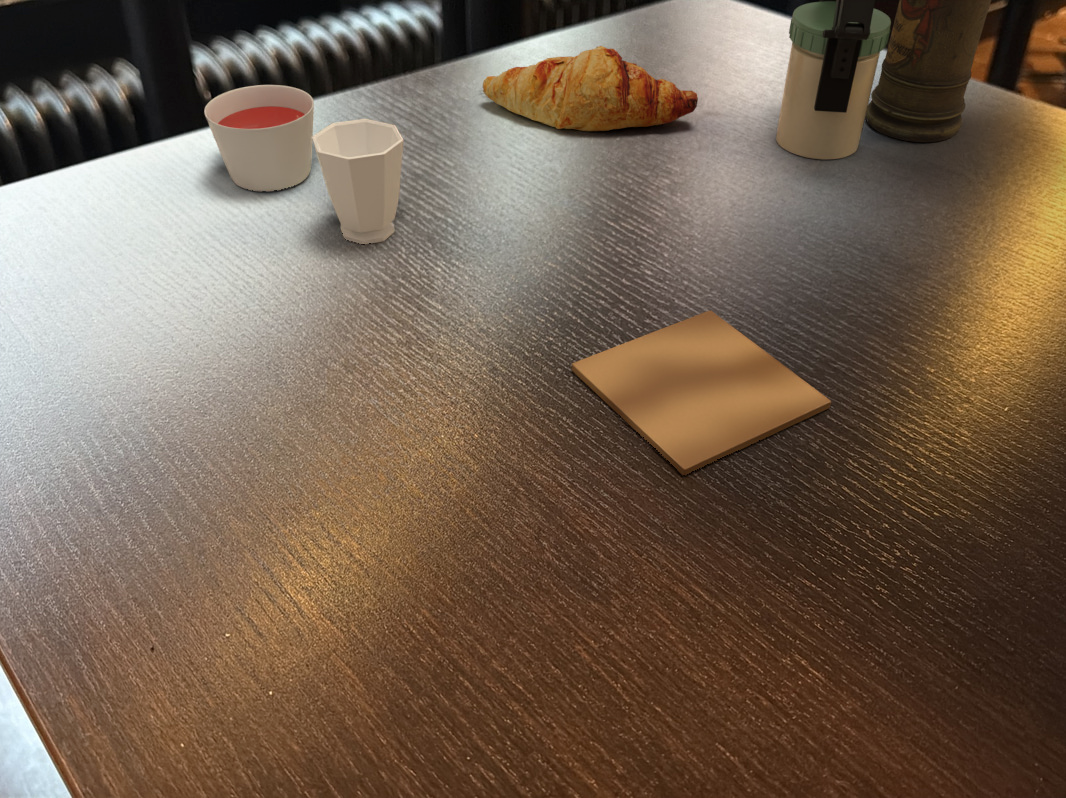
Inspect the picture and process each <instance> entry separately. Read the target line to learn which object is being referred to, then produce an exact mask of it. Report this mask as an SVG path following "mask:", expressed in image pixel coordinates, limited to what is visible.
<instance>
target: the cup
mask: <svg viewBox="0 0 1066 798" xmlns="http://www.w3.org/2000/svg"><path fill="white" fill-rule="evenodd" d="M312 144H313V147H314V150H315V153H316V156H317V159H318V163H319V166H320V170H321V173H322V176H323V181H324V183H325V187H326V190H327V193H328V197H329V198H330V201H331V204H332V206H333V209H334V211H335V213H336V216H337V219H338V221H339V223H340V226H339V227H340V231H341V234H342V233H343V234H342V237H343V239H344V238H345V239H346V240H345V239H344V240H345V241H347V240H349V241H348V242H351V241H353V242H352V243H354V242H357V243H356V244H358V243H359V244H358V245H361V244H365V245H370V244H369V243H371V244H375V243H376V244H377V243H381V242H382V243H383V242H385V241H386V240H387V239H388V238H389V237H391V236H392V235H393V234H394V233H395V232H396V230H395V225H394V223H393V221H394V220H395V219H396V214H397V211H398V210H397V209H398V205H399V200H400V191H401V179H402V177H401V175H402V166H403V165H402V164H403V152H404V138H403V136H402V135H401V132H400V131H399V129H398V127H397V126H396V124H391V123H387V122H382V121H377V120H374V119H369V118H360V119H353V120H345V121H338V122H332V123H330V124H329V125H327V126H326V127H324V128H322V129H321V130H320V131H318V132H317V133H314V134H313V136H312Z"/></svg>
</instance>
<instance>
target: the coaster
mask: <svg viewBox="0 0 1066 798" xmlns="http://www.w3.org/2000/svg"><path fill="white" fill-rule="evenodd" d="M570 369H571V371H572V373H574V374H575V375H576V376H577V377H578V378H579V379H580V380H581V381H582V382H583V383H584V384H585V385H586V386H588V387H589V389H590V390H592V391H593V392H594V393H595V395H597V396H598V398H600V399H601V400H602V401H603V402H605V404H606V405H608V407H610V408H611V409H612V410H613V411H614V412H615V414H617V415H618V416H619V415H620V416H621V417H620V416H619V417H620V418H621V419H622V420H623V421H625V423H626V424H628V425H629V426H630V428H632V429H633V430H634V431H635V430H636V431H635V432H636V433H637V432H638V433H639V434H640V435H639V434H638V433H637V434H638V435H639V436H640V437H642V438H643V437H644V438H643V440H645V441H646V440H647V441H646V442H647V443H648V442H649V443H648V445H650V444H651V445H652V446H653V447H654V448H656V450H658V452H660V453H659V455H661V454H662V455H661V457H663V456H664V457H663V458H664V459H665V458H666V459H665V461H667V460H668V461H669V462H670V463H669V462H668V461H667V462H668V463H669V464H670V465H671V464H672V465H673V466H674V467H675V468H676V469H677V470H676V469H675V468H674V467H673V466H672V465H671V466H672V467H673V468H674V469H675V470H676V471H677V472H678V473H679V474H680V475H682V476H683V475H685V476H687V474H688V475H690V474H692V473H693V472H692V471H694V472H696V471H698V470H700V469H702V467H703V468H705V467H706V466H705V465H707V464H709V465H711V464H713V463H715V462H717V461H718V460H717V459H720V458H722V457H724V456H726V455H728V456H730V455H732V454H734V453H733V452H735V451H737V452H739V451H741V450H743V449H745V448H748V447H749V446H752V445H754V444H756V443H758V442H760V441H762V440H764V439H767V438H769V437H771V436H773V435H775V434H777V433H780V432H781V431H784V430H786V429H788V428H790V427H792V426H795V425H796V424H799V423H801V422H803V421H805V420H807V419H809V418H811V417H814V416H815V415H817V414H820V413H822V412H824V411H826V410H828V409H830V407H831V405H832V401H831V399H829V398H828V397H826V396H825V395H824V394H823V393H821V392H820V391H819V390H817V389H816V388H815V387H813V386H812V385H810V384H809V383H808V382H807V381H805V380H804V379H802V378H801V377H800V376H799V375H797V374H796V373H795V372H794V371H792V370H791V369H790V368H788V367H787V366H785V365H784V364H782V362H780V361H779V360H777V359H776V358H775V357H773V356H772V355H771V354H770V353H769V352H767V351H765V350H764V349H763V348H762V347H760V346H759V345H758V344H756V343H755V342H753V340H751V339H750V338H748V337H747V336H746V335H744V334H743V333H741V332H740V331H739V330H738V329H736V328H735V327H733V326H732V324H730V323H729V322H727V321H725V320H724V319H723V318H722V317H721V316H719V315H718V314H716V313H715V312H714V311H712V310H710V309H709V310H706V311H704V312H701V313H699V314H696V315H694V316H691V317H689V318H686V319H683V320H680V321H677V322H676V323H672V324H670V325H667V326H666V327H663V328H660V329H658V330H654V331H653V332H652V331H651V332H649V333H647V334H644V335H642V336H639V337H637V338H635V339H631V340H629V341H627V342H624V343H621V344H619V345H616V346H614V347H611V348H608V349H606V350H603V351H601V352H598V353H596V354H593V355H590V356H587V357H585V358H582V359H580V360H577V361H575V362H572V363H571V368H570ZM766 437H767V438H766ZM759 440H760V441H759ZM751 444H752V445H751ZM651 445H650V446H651ZM652 446H651V447H652ZM653 447H652V448H653ZM654 448H653V449H654ZM656 450H655V451H656ZM738 450H739V451H738ZM658 452H657V453H658ZM731 453H732V454H731ZM735 453H736V452H735ZM729 454H730V455H729ZM726 457H727V456H726ZM724 458H725V457H724ZM722 459H723V458H722ZM720 460H721V459H720ZM714 461H715V462H714ZM712 462H713V463H712ZM710 463H711V464H710ZM704 466H705V467H704ZM707 466H708V465H707ZM700 467H701V468H700ZM699 468H700V469H699ZM697 469H698V470H697ZM695 470H696V471H695ZM691 472H692V473H691ZM689 473H690V474H689Z"/></svg>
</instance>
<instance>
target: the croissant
mask: <svg viewBox="0 0 1066 798" xmlns="http://www.w3.org/2000/svg"><path fill="white" fill-rule="evenodd" d="M482 89H483V90H482V92H483V94H484V95H485V96H486V97H487V99H489V100H492V101H493V102H494V103H495V104H497V105H499V106H501V107H503V108H504V109H506V110H507V111H508V112H512V113H513V114H515V115H520V116H522V117H525V118H527V119H530V120H532V121H534V122H539V123H541V124H544V125H546V126H550V127H553V128H556V130H557V129H558V130H562V129H565V130H578V131H581V132H605V131H606V132H607V131H610V130H621V129H626V128H647V127H652V126H659V125H664V124H670V123H673V122H674V121H676V120H679V119H680V118H682V117H685V116H686V115H689V114H691V113H694V111H695V110H696V109H697V107H698V101H699V99H698V98H699V97H698V94H697V92H695V91H693V90H683V89H682V90H681V89H679V88H678V87H677V85H676V84H675V83H674V82H672V81H669V80H666V79H665V78H659V79H656V78H655V77H653V76H652V75H650V74H649V73H648V71H647V70H646V69H644V68H643V67H642V66H639V65H638V64H637V63H634V62H628V61H626V60H623V57H622V55H620V54H619V52H618V50H616V49H614V48H608V47H605V46H603V45H599V46H596V48H592V49H586V50H583V51H580V53H578V55H575V56H555V57H546V58H545V59H543V60H541V61H538V62H537V63H535V64H531V65H528V66H513V67H511V68H509V69H507V70H505V71H502V72H501V73H499V75H497V76H495V75H491V76H490V75H489V76H486V78H484V79H483V82H482Z"/></svg>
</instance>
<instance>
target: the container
mask: <svg viewBox="0 0 1066 798" xmlns="http://www.w3.org/2000/svg"><path fill="white" fill-rule="evenodd" d="M991 2H992V0H899V1H898V4H897V5H898V6H897V9H896V14H895V17H894V22H893V26H892V30H891V34H890V39H889V41H888V46H887V49H886V54H885V57H884V59H883V61H882V63H881V71H880V76H879V80H878V82H877V85H876V86H875V87H874V89H873V90H871V94H870V99H871V101H869V102H868V107H867V111H866V115H865V120H866V122H867V123H868V125H869V126H870V127H871V128H872V129H874V131H877V132H878V133H880V134H882V135H884V136H887V137H890V138H893V139H898V140H901V141H905V142H906V141H907V142H915V143H933V142H941V141H945V140H948V139H951V138H953V137H954V136H955V135H956V134H957V133H958V131H959V130H960V129H961V126H962V123H963V116H962V114H963V112H964V111H965V109H966V102H965V101H966V99H965V95H966V91H967V88H968V85H969V84H968V83H970V81H971V79H972V68H973V65H974V60H975V57H976V52H977V49H978V46H979V42H980V39H981V36H982V32H983V30H984V26H985V23H986V19H987V16H988V12H989V8H990V6H991Z"/></svg>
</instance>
